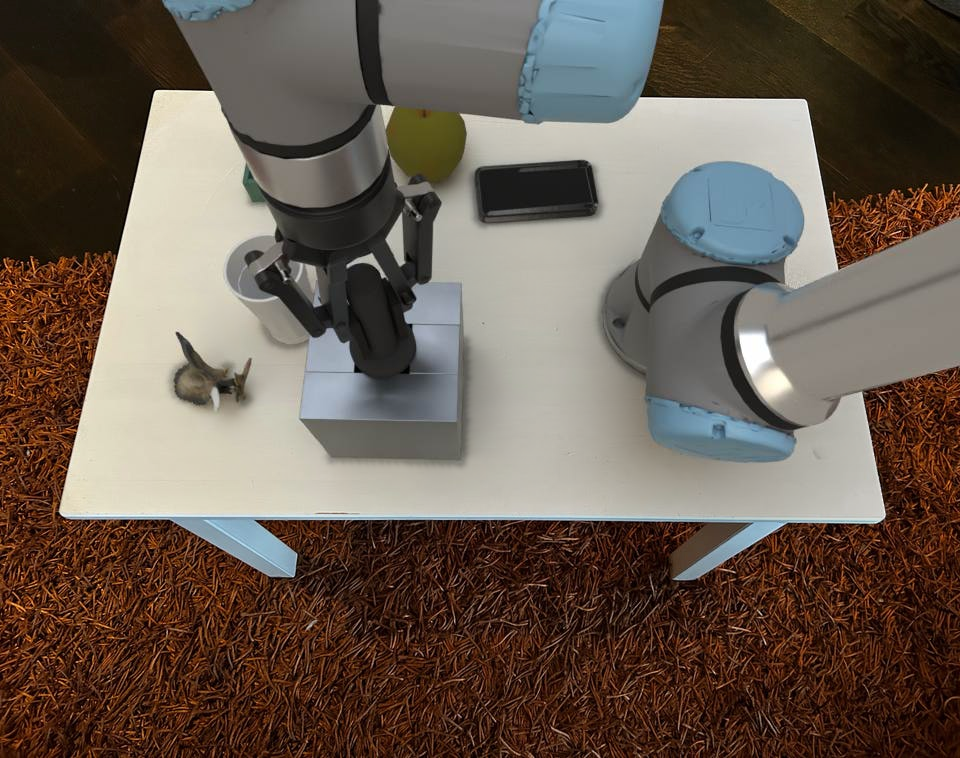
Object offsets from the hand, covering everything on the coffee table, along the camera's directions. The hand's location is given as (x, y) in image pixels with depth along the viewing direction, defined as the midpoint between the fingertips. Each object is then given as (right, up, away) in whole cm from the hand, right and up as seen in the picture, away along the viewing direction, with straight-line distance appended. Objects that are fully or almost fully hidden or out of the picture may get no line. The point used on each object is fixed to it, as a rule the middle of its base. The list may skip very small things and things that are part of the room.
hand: (379, 336), depth 58 cm
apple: (+2, +24, +27) cm, 36 cm away
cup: (-13, +3, +19) cm, 23 cm away
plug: (0, -2, +5) cm, 5 cm away
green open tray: (-14, +23, +27) cm, 38 cm away
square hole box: (0, -6, +15) cm, 17 cm away
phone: (+16, +20, +26) cm, 36 cm away
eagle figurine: (-21, -4, +16) cm, 27 cm away
